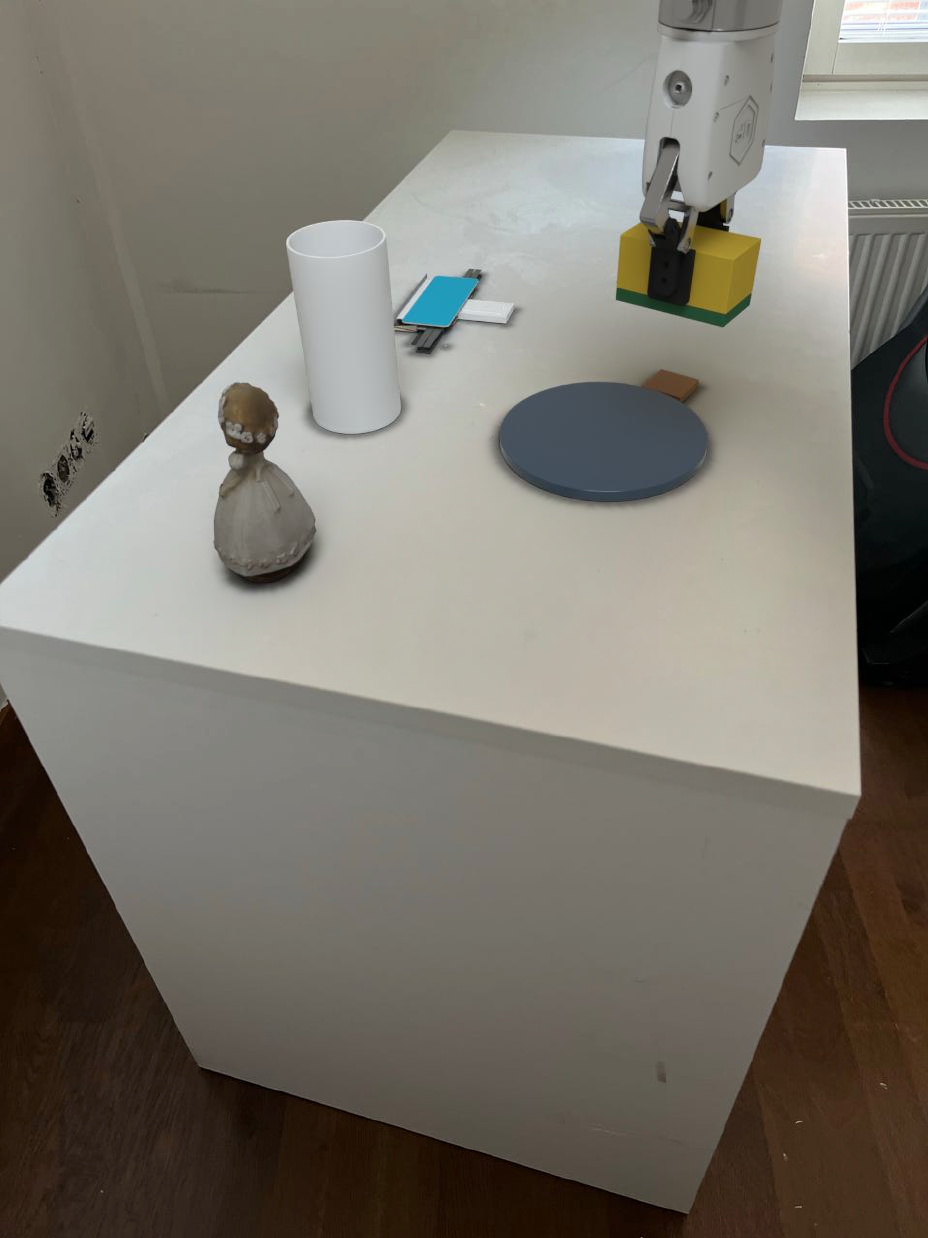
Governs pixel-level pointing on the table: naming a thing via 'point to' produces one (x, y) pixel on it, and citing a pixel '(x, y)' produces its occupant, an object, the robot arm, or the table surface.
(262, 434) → the figurine
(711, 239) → the sponge
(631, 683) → the table surface
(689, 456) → the plate
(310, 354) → the cup
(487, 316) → the phone stand
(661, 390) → the brown square tile
